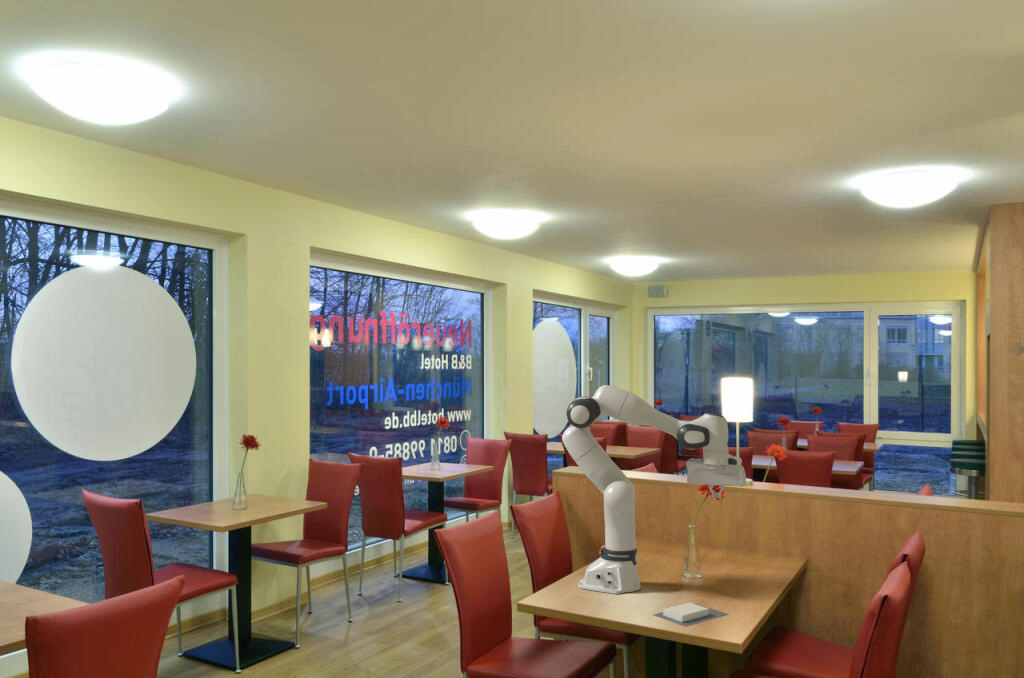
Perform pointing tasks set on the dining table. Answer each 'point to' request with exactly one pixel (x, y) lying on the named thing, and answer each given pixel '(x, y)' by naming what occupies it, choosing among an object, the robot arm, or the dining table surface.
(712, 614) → the mat
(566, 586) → the dining table surface
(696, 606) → the teal book
